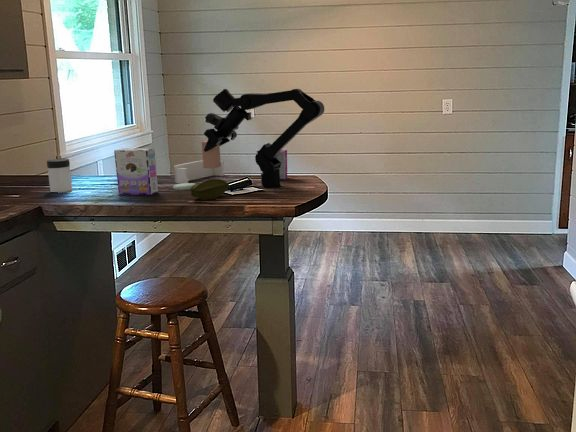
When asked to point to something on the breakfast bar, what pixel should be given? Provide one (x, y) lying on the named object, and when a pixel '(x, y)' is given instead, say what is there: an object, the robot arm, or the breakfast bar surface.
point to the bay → (195, 171)
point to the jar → (59, 175)
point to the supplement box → (283, 164)
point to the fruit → (209, 189)
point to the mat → (183, 186)
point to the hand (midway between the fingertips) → (207, 150)
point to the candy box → (136, 171)
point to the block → (211, 157)
